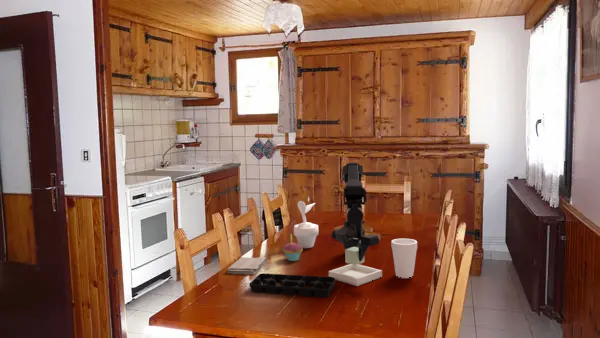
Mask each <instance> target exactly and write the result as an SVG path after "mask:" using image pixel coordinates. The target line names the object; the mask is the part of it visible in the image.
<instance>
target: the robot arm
mask: <svg viewBox="0 0 600 338" xmlns="http://www.w3.org/2000/svg"><path fill="white" fill-rule="evenodd" d="M363 167H364V166H363V165H361V164H360V163H359V162H347V163H346V164H345V165H343V166H342V178H343V180H344V184H345V187H343V205H345V206H346V220H345V221H343V226H342V227H340V228H339V229H334V230H333V231H332V232H331V238H332V239H334V240H337V241H338V242H339V243H341V244H342V245H343V248H344V250H345V249H348V248H351V247H358V249H359V261H362V259H363V257H364V258H365V255H366V253H367V251H368V249H369V247H371V246H375V245H377V244H380V237H379V236H378V235H376V234H366V233H365V232H366V231H365V229H364V226H363V225H364V224H366V222H365V220H363V219H364V212H363V206H364V205H366V203H367V199H368V198H367V190H366V188H365V187H363V182H362V178H363V177H364V168H363ZM365 234H366V235H365ZM343 254H344V255H345V251H343Z"/></svg>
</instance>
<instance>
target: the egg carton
mask: <svg viewBox="0 0 600 338" xmlns="http://www.w3.org/2000/svg"><path fill="white" fill-rule="evenodd" d="M336 281H337V280H335V278H334V277H329V276H323V275H322V276H320V275H299V274H297V275H296V274H284V273H283V274H282V273H279V274H278V273H266V272H265V273H259V274H257V275H256V276H255V278H254V279H252V281H250V282H249V287H250V291H251V292H252V293H255V294H263V293H265V292H266V294H269V295H279V294H281V293H282V295H285V296H296V295H297V294H298V296H301V297H312V296H313V295H314V297H315V298H322V299H323V298H329V297H330V295H331V291H334V289H335V284H336ZM277 284H279V285H277ZM306 286H309V287H306Z"/></svg>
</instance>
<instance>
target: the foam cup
mask: <svg viewBox="0 0 600 338" xmlns="http://www.w3.org/2000/svg"><path fill="white" fill-rule="evenodd" d="M390 244H391V249H392V258H393V264H394V272H395V276H396V277H397V276H398V277H397V278H400V277H401V278H400V279H410V278H409V277H411V278H413V277H414V272H415V266H416V265H415V264H416V258H417V250H418V241H417V240H416V239H412V238H404V237H403V238H395V239H391V243H390ZM412 276H413V277H412Z"/></svg>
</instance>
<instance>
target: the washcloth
mask: <svg viewBox="0 0 600 338" xmlns="http://www.w3.org/2000/svg"><path fill="white" fill-rule="evenodd" d="M267 263H268V259H267V257H260V256H259V257H239V259H238V260H236V261H234V262H233V263H232V264H231V265H230V266H229V267H228V268H227V271H228V272H227V274H231V275H250V276H251V275H256V274H257V273H258V271H259V272H260V270H261V269H262V268H263V267H264V266H265V265H266V264H267Z"/></svg>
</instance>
